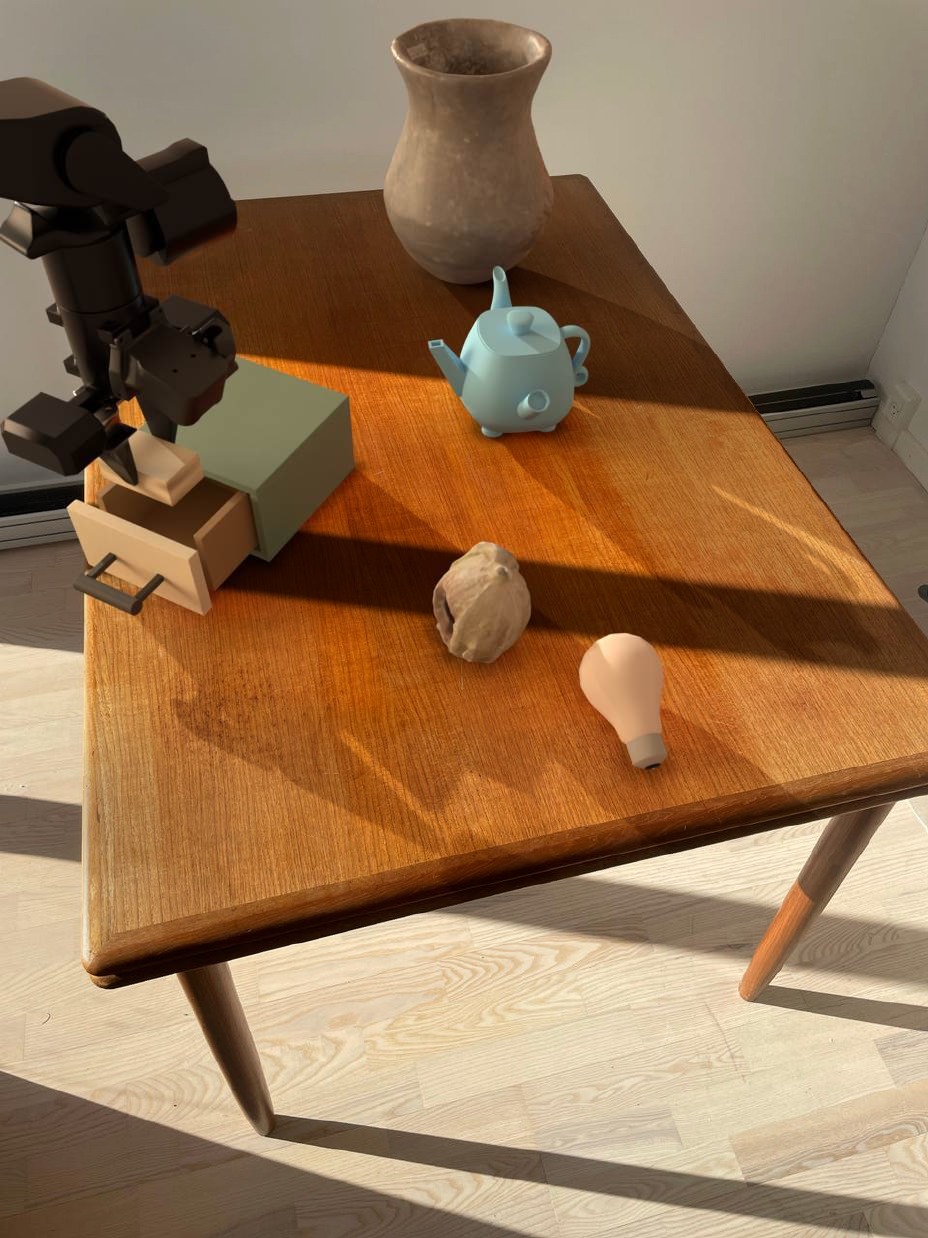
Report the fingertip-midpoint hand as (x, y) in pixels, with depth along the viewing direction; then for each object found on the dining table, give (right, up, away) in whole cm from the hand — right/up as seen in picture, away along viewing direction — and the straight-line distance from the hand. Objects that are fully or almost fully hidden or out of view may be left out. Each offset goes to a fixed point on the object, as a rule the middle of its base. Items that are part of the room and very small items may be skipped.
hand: (149, 467), depth 77 cm
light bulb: (+38, -20, -1) cm, 43 cm away
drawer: (0, -6, +8) cm, 11 cm away
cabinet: (+5, 0, +16) cm, 16 cm away
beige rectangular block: (0, -1, +1) cm, 1 cm away
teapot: (+30, +10, +24) cm, 39 cm away
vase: (+25, +31, +42) cm, 58 cm away
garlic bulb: (+26, -14, +4) cm, 30 cm away
